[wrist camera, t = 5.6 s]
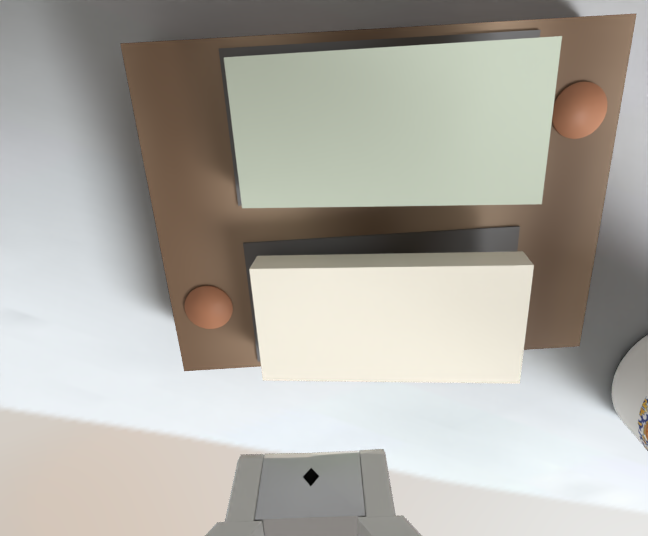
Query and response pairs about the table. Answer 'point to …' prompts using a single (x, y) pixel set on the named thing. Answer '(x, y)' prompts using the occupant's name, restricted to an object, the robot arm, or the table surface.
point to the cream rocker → (392, 316)
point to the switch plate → (365, 222)
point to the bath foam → (633, 390)
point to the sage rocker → (395, 124)
